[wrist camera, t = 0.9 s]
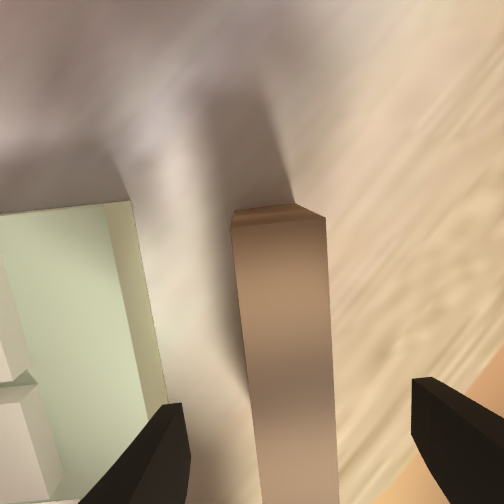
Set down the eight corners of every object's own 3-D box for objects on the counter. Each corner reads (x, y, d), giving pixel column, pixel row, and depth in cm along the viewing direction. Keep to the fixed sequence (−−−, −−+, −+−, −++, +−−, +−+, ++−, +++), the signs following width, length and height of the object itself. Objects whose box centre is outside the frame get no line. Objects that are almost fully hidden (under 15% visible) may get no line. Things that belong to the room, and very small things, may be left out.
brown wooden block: (309, 410, 18) (340, 517, 13) (257, 415, 18) (264, 525, 13) (295, 203, 16) (325, 217, 10) (234, 210, 16) (228, 227, 10)
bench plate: (175, 440, 18) (162, 489, 16) (5, 458, 18) (-40, 510, 16) (130, 200, 15) (103, 205, 12) (-74, 221, 15) (-149, 231, 12)
